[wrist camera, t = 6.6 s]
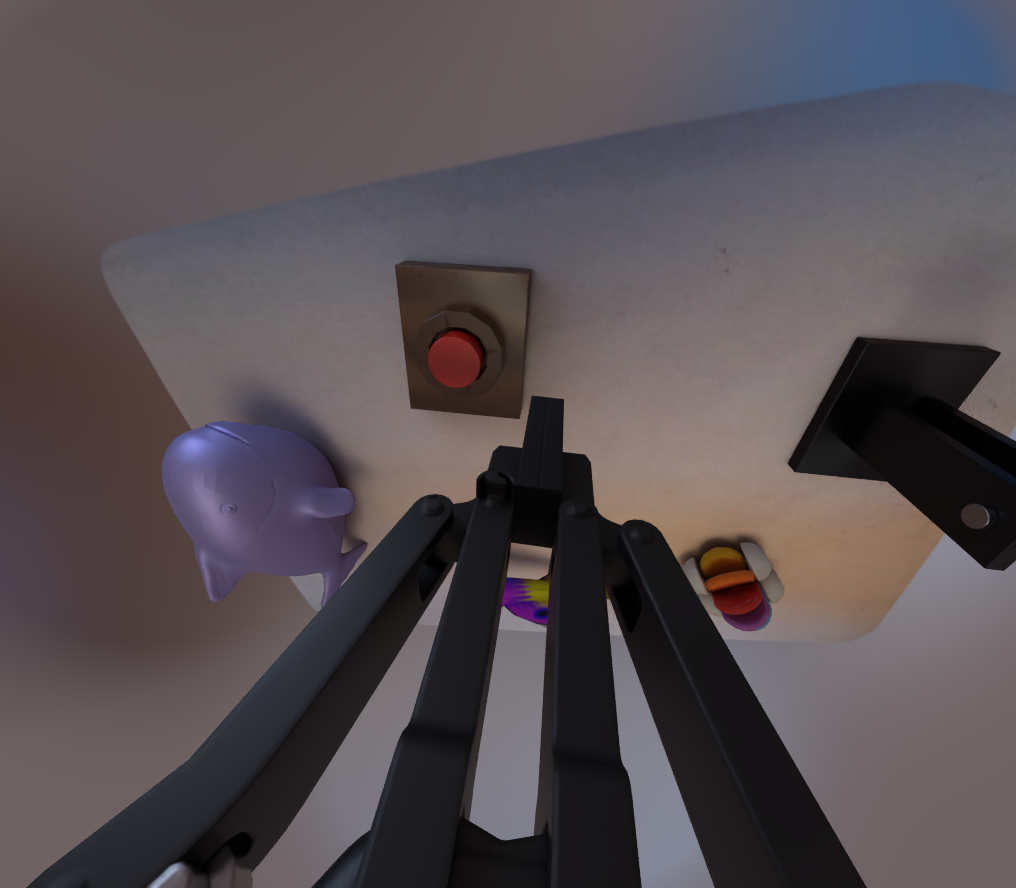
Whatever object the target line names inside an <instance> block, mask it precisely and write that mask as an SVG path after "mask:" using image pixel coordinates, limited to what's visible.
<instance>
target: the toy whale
mask: <svg viewBox="0 0 1016 888" xmlns="http://www.w3.org/2000/svg"><path fill="white" fill-rule="evenodd" d="M162 479H163V484H164V489H165V493H166V495H167V498H168V500H169V503H170V505H171V507H172V509H173V511H174V512H175V514H176V516H177V518H178V519H179V521H180V523H181V524H182V526H183V528H184V529H185V531H186V532H187V533H188V535H189V536H190V537H191V539H192V541H193V543H194V546H195V556H196V559H197V563H198V565H199V567H200V569H201V573H202V576H203V580H204V584H205V587H206V590H207V593H208V596H209V598H210V600H211V601H212V602H218V601H220V600H221V599H223V598H225V597H226V595H227V594H228V593H230V591H231V590H232V589H233V588H234V586H235V585H236V583H237V582H238V581H239V580H240V579H241V577H243V576H244V575H245V574H247V573H249V572H260V573H265V574H271V575H283V576H302V575H309V574H314V573H322V575H323V578H324V594H323V599H322V603H321V605H322V608H323V607H324V606H325V604H326V603H327V602H328V601H329V600H330V599H331V598H332V597H333V595H334V594H335V593H336V592H337V591H338V590H339V588H340V586H341V584H342V582H343V581H344V580H345V579H346V578H347V576H348V574H349V572H350V571H351V570H352V569H353V568H354V566H355V563H356V562H357V560H358V559H359V557H360V556H361V555H362V553H363V552H364V551H365V550H366V549H367V544H366V543H364V544H360V545H358V546H357V547H355V548H353V549H352V550H350V551H348V552H346V553H341V548H342V542H343V537H344V526H345V515H346V514H349V513H350V512H352V511H353V509H354V507H355V498H354V495H353V493H352V492H351V491H350V490H349V489H346V488H339V485H338V482H337V479H336V477H335V474H334V472H333V469H332V468H331V466H330V464H329V462H328V460H327V459H326V458H325V456H324V455H323V454H322V453H321V451H320V450H319V449H317V448H316V447H315V446H314V445H313V444H311V443H310V442H309V441H307V440H305V439H304V438H302V437H300V436H298V435H296V434H293V433H291V432H288V431H285V430H281V429H278V428H274V427H268V426H261V425H250V424H243V423H236V422H227V421H219V422H212V423H209V424H207V425H205V427H200V428H198V429H195V430H191V431H188V432H186V433H183V434H182V435H180V436H178V437H177V438H176V439H175V440H174V441H173V442H172V443H171V444H170V445H169V447H168V449H167V451H166V453H165V455H164V459H163V462H162Z"/></svg>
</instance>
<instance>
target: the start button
mask: <svg viewBox="0 0 1016 888" xmlns="http://www.w3.org/2000/svg"><path fill="white" fill-rule="evenodd" d="M483 363H484V352H483V349H482V346H481V344H480V343H479V341H478V340H477V339H476V338H475V337H474V336H473V335H471V334H469V333H467V332H465V331H462V330H451V331H448V332H445V333H444V334H442V335H441V336H440V337H439V338H438V339H437V341H436V342H435V343H434V344H433V345H432V347H431V348H430V350H429V354H428V364H429V368H430V370H431V372H432V374H433V375H434V377H435V378H436V379H437V380H438V381H440V382H441V383H443V384H444V385H447V386H449V387H454V388H460V387H465V386H468V385H469V384H471V383H472V382H474V381H475V379H476V378H477V376H478V374H479V372H480V370H481V368H482V366H483Z"/></svg>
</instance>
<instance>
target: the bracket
mask: <svg viewBox="0 0 1016 888" xmlns="http://www.w3.org/2000/svg"><path fill="white" fill-rule="evenodd" d="M1000 354H1001V352H998V351H996V350H993V349H990V348H987V347H980V346H967V345H954V344H940V343H927V342H914V341H900V340H887V339H873V338H860V337H858V338H857V339H856V341H855V342H854V344H853V346H852V348H851V350H850V352H849V353H848V355H847V357H846V359H845V361H844V363H843V364H842V366H841V368H840V370H839V372H838V373H837V375H836V377H835V379H834V381H833V383H832V384H831V386H830V388H829V390H828V392H827V394H826V395H825V397H824V399H823V401H822V403H821V405H820V406H819V408H818V410H817V412H816V414H815V415H814V417H813V419H812V421H811V423H810V425H809V426H808V428H807V430H806V432H805V434H804V436H803V437H802V439H801V441H800V443H799V445H798V447H797V448H796V450H795V452H794V454H793V456H792V457H791V459H790V461H789V463H788V465H789V466H790V467H791V468H792V470H793V471H794V472H798V473H808V474H818V475H828V476H838V477H847V478H857V479H867V480H877V481H886V482H888V483H889V484H891V485H892V486H893V487H894V488H895V489H896V490H897V491H898V492H900V493H901V494H902V495H903V496H904V497H905V498H906V499H907V500H908V501H910V502H911V503H912V504H913V505H914V506H915V507H916V508H917V509H919V510H920V511H921V512H922V513H923V514H924V515H925V516H926V517H928V518H929V519H930V520H931V521H932V522H933V523H934V524H935V525H937V526H938V527H939V528H940V529H941V530H942V531H943V532H944V533H946V534H947V535H948V536H949V537H950V538H951V539H952V540H953V541H955V542H956V543H957V544H958V545H959V546H960V547H961V548H962V549H964V550H965V551H966V552H967V553H968V554H969V555H970V556H972V558H974V559H975V560H976V561H977V562H978V563H979V564H981V566H983V567H984V568H986V569H993V570H1001V571H1004V570H1005V569H1007V568H1008V567H1009V566H1010V565H1011V564H1012V563H1014V562H1015V561H1016V441H1014V440H1012V439H1011V438H1009V437H1007V436H1005V435H1003V434H1002V433H1000V432H998V431H996V430H994V429H992V428H991V427H989V426H987V425H985V424H983V423H982V422H980V421H978V420H976V419H974V418H972V417H971V416H969V415H967V414H965V413H963V412H961V411H960V410H958V408H959V407H960V406H961V404H962V403H963V402H964V401H965V399H966V398H967V397H968V395H969V394H970V393H971V392H972V390H973V389H974V388H975V386H976V385H977V384H978V382H979V381H980V380H981V379H982V377H983V376H984V375H985V373H986V372H987V371H988V370H989V368H990V367H991V366H992V364H993V363H994V362H995V360H996V359H997V358H998V357H999V355H1000Z"/></svg>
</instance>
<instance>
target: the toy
mask: <svg viewBox="0 0 1016 888" xmlns="http://www.w3.org/2000/svg"><path fill="white" fill-rule="evenodd" d="M549 577H550V574H548V575H546V576H544V577H542V578H541V579H539V580H533V579H521V578H508V577H506V583H505V589H504V596H503V602H502V607H503V606H505V607H506V608H507V609H508V610H509V611H510V612H511V613H513V614H514V615H515V616H518V617H521V618H523V619H526V620H528V621H531V622H534V623H536V624H539V625H541V626H544V627H546V628H547V615H548V596H549ZM605 589H606V586H605ZM606 599H609V600H610V598H609V595H608V592H607V590H606Z"/></svg>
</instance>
